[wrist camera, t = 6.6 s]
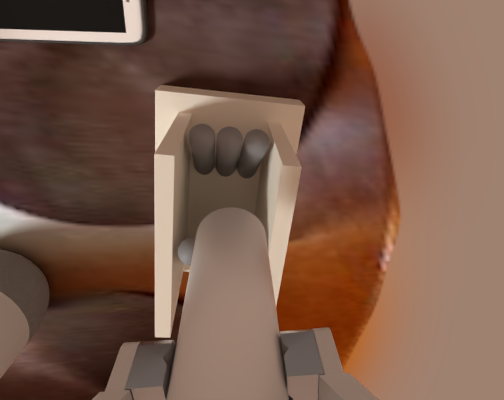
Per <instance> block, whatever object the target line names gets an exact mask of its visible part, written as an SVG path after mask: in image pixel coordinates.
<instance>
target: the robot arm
mask: <svg viewBox="0 0 504 400" xmlns="http://www.w3.org/2000/svg"><path fill="white" fill-rule="evenodd" d="M280 343H281V350H282V357H283V361H284V372H285V379H286V386H287V392H288V397H289V400H378V398H376V397H375V396H374V395H373V394H372V393H371V392H370V391H369V390H367V389H366V388H365V387H364V386H363V385H362V384H361V383H359V381H357V380H356V379H355V378H354V377H353V376H352V375H351V374H350V373H344V371H343V368H342V365H341V362H340V358H339V355H338V352H337V349H336V346H335V342H334V339H333V336H332V333H331V330H330V329H329V327H327V328H315V329H302V330H291V331H280ZM175 349H176V344H175V341H174V340H160V341H141V342H126V343H123V345H122V346H121V347H120V350H119V353H118V355H117V358H116V361H115V364H114V367H113V370H112V372H111V375H110V378H109V381H108V384H107V387H106V389H105V392H99V393H98V394H97V395H96V396H95V397H94V398H93V399H92V400H166V398H167V393H168V387H169V382H170V376H171V371H172V365H173V360H174V354H175Z"/></svg>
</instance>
